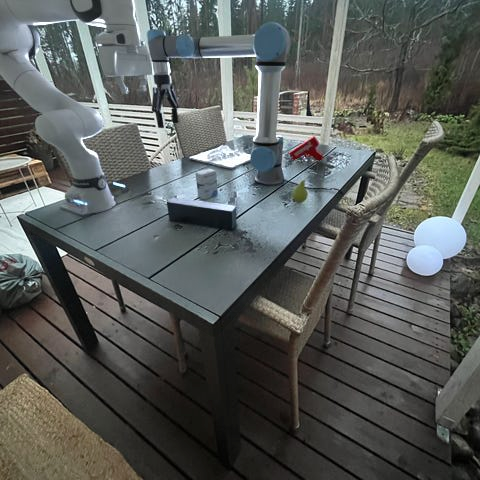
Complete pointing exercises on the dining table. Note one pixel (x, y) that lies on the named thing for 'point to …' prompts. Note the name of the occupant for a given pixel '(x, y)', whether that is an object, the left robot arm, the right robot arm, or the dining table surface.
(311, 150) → the toy gun
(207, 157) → the relief map
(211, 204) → the bar
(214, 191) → the ink box
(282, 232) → the dining table surface
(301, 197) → the fruit
